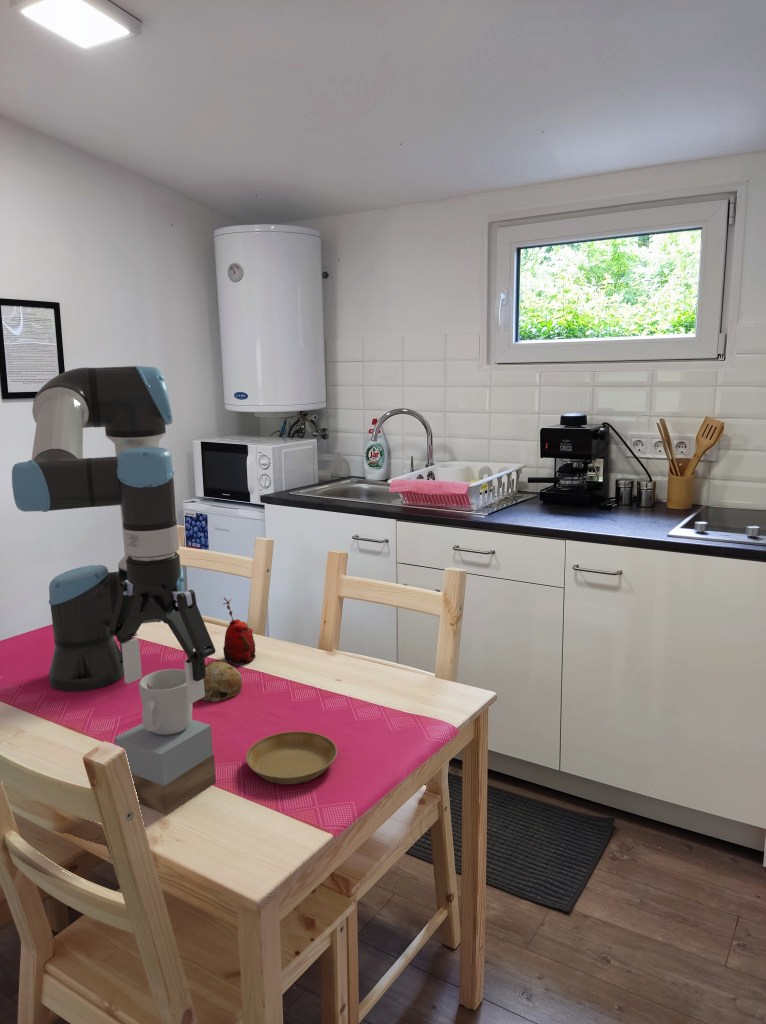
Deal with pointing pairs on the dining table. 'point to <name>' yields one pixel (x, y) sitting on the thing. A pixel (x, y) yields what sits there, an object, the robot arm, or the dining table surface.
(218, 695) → the bread roll
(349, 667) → the dining table surface
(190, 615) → the robot arm
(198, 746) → the grey block
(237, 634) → the red textured ornament
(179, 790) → the walnut block
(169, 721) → the cup
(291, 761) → the plant saucer
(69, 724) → the dining table surface
